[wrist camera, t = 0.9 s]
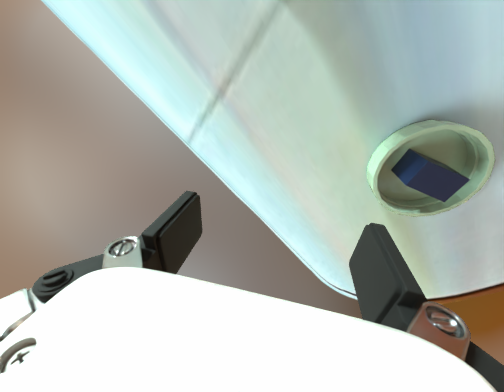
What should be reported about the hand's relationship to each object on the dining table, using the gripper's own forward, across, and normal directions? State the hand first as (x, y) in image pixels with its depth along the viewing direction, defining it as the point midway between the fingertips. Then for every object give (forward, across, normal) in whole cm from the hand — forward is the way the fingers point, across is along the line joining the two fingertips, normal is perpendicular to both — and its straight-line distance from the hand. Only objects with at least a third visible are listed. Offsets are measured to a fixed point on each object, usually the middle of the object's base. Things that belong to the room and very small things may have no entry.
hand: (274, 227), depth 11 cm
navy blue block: (+31, -23, +5) cm, 39 cm away
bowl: (+32, -23, +5) cm, 40 cm away
